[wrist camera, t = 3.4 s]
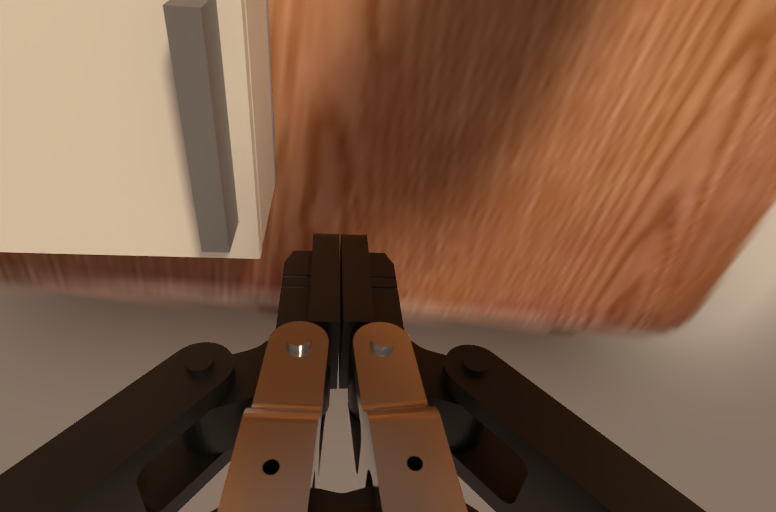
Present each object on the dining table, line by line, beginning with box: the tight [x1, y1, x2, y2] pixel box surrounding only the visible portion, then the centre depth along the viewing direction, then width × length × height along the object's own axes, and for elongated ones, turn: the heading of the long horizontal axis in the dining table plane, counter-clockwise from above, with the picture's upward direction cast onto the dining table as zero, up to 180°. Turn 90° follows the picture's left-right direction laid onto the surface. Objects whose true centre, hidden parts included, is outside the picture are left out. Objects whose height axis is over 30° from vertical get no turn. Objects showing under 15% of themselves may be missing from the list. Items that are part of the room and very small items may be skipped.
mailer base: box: [245, 0, 276, 243], centre depth 24 cm, size 20×14×7 cm
